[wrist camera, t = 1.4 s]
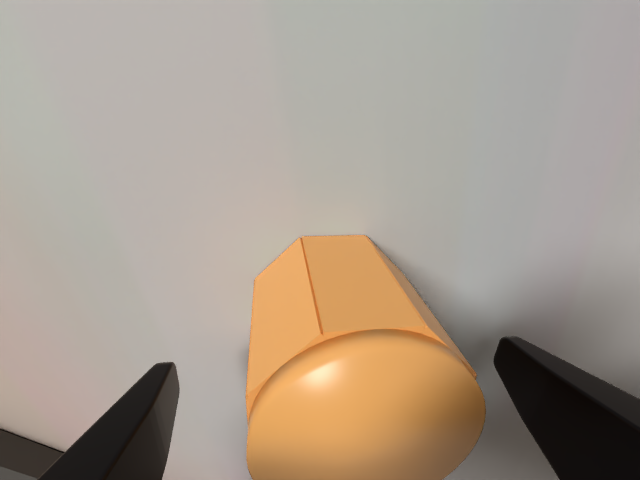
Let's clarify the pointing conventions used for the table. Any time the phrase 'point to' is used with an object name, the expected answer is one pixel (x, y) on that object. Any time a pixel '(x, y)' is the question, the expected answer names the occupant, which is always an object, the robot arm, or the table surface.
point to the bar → (23, 458)
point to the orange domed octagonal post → (353, 371)
